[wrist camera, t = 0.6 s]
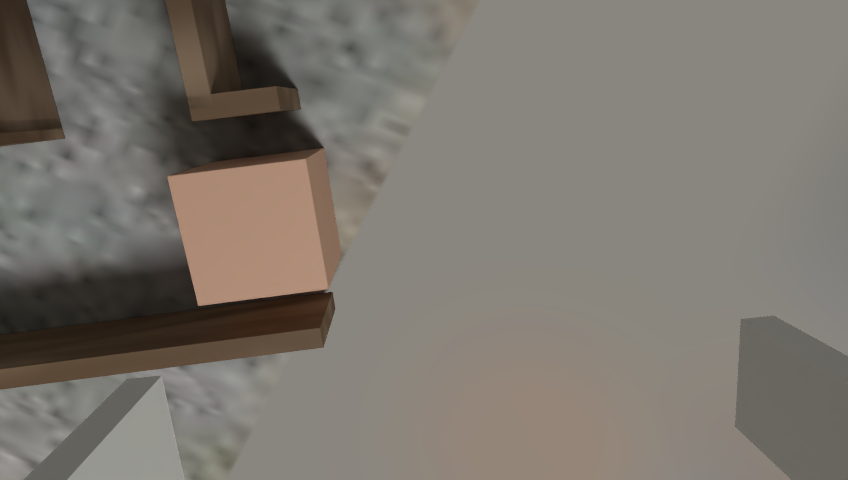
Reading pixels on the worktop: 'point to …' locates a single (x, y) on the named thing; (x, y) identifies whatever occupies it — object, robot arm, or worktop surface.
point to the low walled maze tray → (172, 332)
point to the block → (257, 226)
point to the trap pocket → (194, 40)
